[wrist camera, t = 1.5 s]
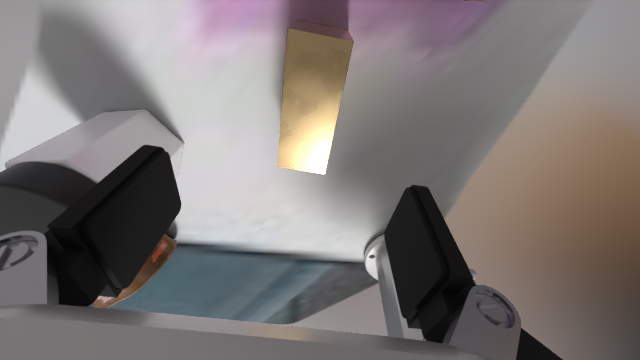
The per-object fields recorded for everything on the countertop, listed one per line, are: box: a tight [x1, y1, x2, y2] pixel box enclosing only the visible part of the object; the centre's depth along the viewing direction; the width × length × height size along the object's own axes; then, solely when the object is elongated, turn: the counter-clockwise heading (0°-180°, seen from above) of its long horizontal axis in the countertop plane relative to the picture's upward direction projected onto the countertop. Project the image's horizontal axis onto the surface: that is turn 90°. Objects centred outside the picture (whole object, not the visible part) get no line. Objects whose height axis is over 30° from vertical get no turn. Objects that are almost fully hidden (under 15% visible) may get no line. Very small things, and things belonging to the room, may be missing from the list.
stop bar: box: [277, 20, 354, 174], centre depth 20 cm, size 4×10×6 cm, turn 171°
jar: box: [0, 109, 184, 236], centre depth 22 cm, size 9×8×12 cm
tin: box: [94, 234, 177, 308], centre depth 34 cm, size 15×3×8 cm, turn 126°
